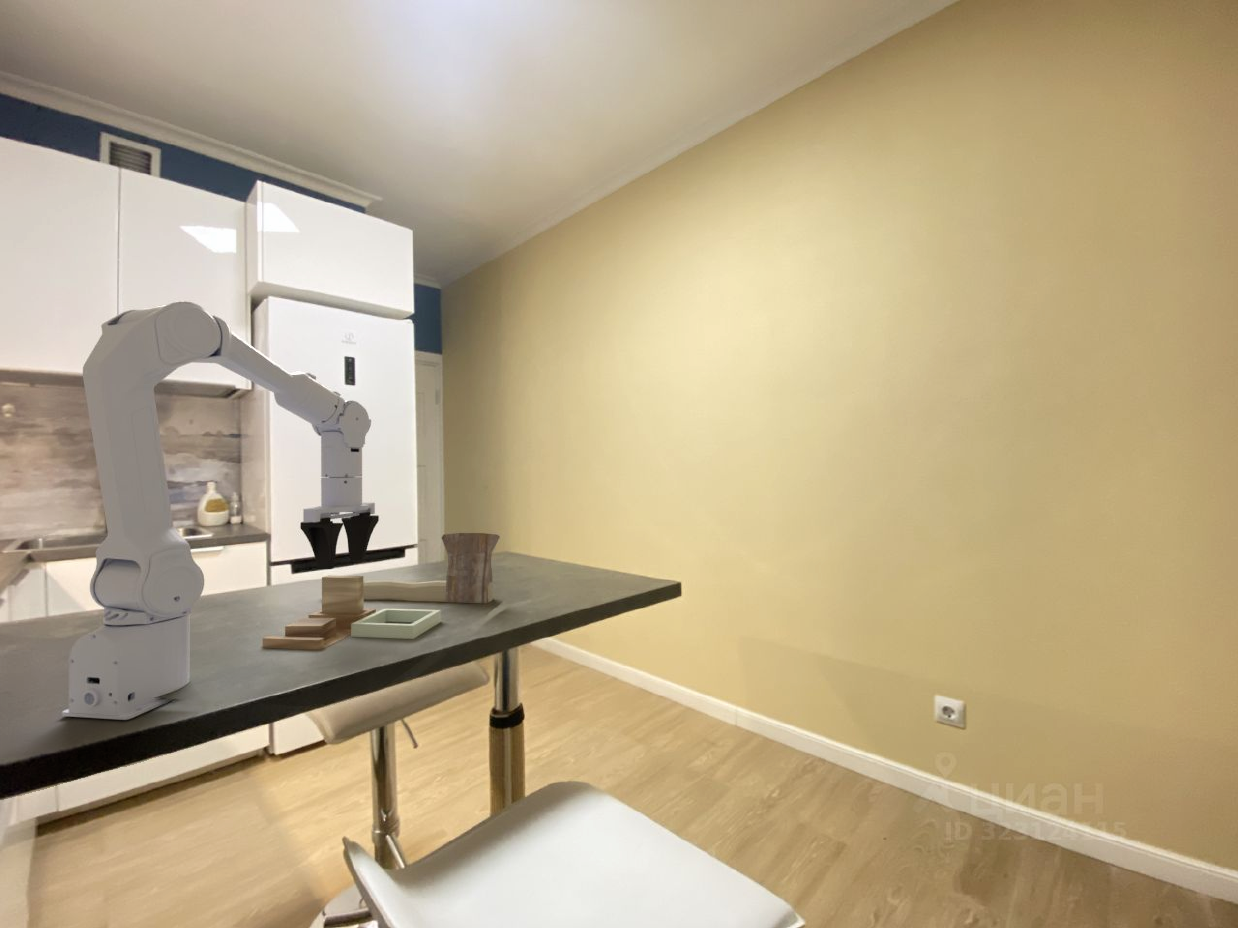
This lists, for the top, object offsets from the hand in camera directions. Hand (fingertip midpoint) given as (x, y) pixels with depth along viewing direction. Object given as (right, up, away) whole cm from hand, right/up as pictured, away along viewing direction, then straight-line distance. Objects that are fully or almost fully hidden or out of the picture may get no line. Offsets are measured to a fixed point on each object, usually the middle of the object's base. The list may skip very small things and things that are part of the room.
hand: (342, 564), depth 83 cm
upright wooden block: (0, -9, 0) cm, 9 cm away
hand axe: (+4, -11, +16) cm, 20 cm away
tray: (+10, -10, -2) cm, 14 cm away
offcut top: (-1, -8, -7) cm, 11 cm away
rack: (0, -10, -4) cm, 11 cm away
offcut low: (-1, -9, -7) cm, 12 cm away
